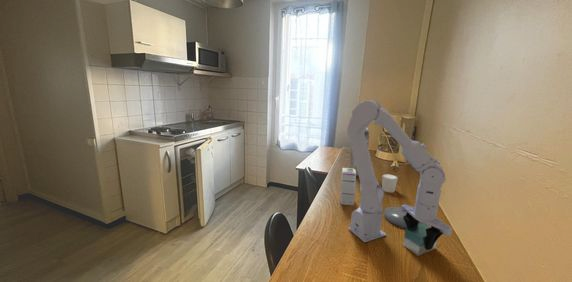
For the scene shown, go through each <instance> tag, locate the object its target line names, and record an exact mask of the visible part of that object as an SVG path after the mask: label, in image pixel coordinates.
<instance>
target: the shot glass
mask: <svg viewBox="0 0 572 282" xmlns="http://www.w3.org/2000/svg"><path fill="white" fill-rule="evenodd" d="M381 179H382V180H381V188H382V189H383V191H384V192H385V193H395V191H396V187H397V184H398V176H396V175H393V174H390V173H389V174H388V173H385V174H384V173H383V174H382V177H381Z"/></svg>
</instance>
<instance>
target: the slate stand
mask: <svg viewBox="0 0 572 282" xmlns="http://www.w3.org/2000/svg"><path fill="white" fill-rule="evenodd" d="M383 212H384V213H383V217H384V218H385V219H386V220H387V222H389V224H392V225H394V226H396V227H398V228H402V229H405V230H406V228H407V226H406V223H405V221H404V219H403V216H405V215H406V212H402V211H401V206H389V207H387V208H385V210H384V211H383ZM421 223H422V222H420V221H419V223H418V224H421Z"/></svg>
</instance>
